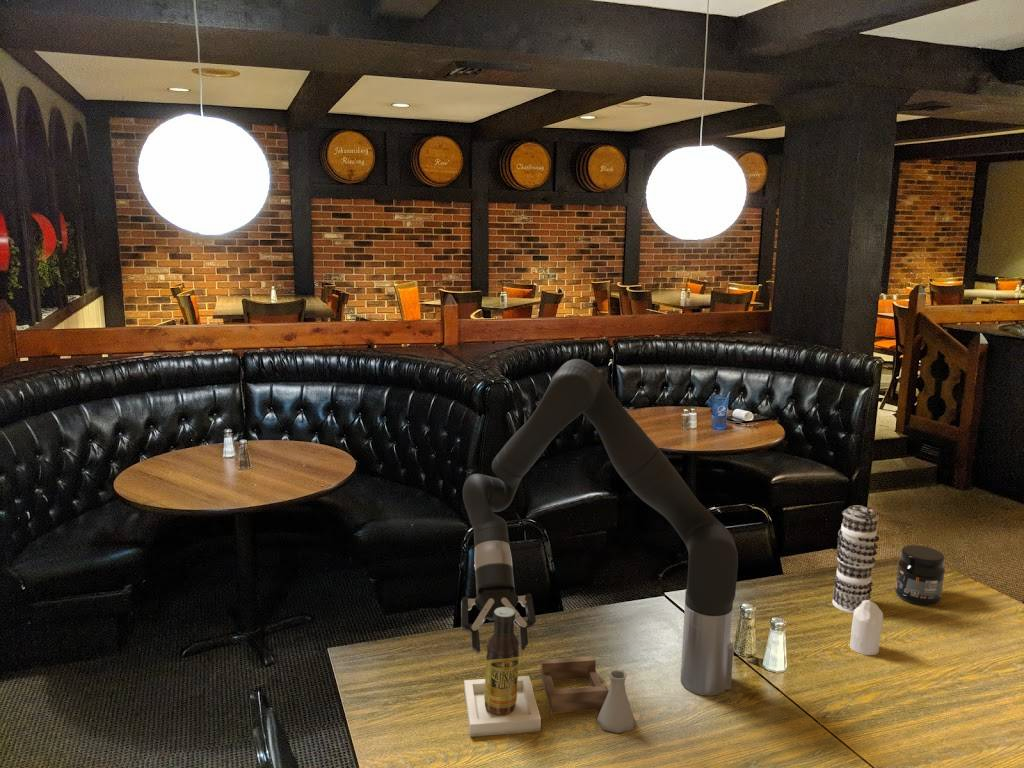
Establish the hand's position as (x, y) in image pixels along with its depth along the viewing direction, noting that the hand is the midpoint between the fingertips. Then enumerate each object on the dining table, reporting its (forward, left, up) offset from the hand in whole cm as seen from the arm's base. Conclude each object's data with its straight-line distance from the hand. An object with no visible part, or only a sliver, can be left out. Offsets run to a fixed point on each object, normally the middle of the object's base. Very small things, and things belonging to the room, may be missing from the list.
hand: (500, 651), depth 150 cm
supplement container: (-109, -33, -13) cm, 115 cm away
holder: (-15, -4, -12) cm, 20 cm away
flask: (-21, +6, -13) cm, 25 cm away
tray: (0, 0, -12) cm, 12 cm away
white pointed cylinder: (-82, -12, -13) cm, 84 cm away
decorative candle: (-90, -31, -13) cm, 96 cm away
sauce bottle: (0, 0, -12) cm, 12 cm away
